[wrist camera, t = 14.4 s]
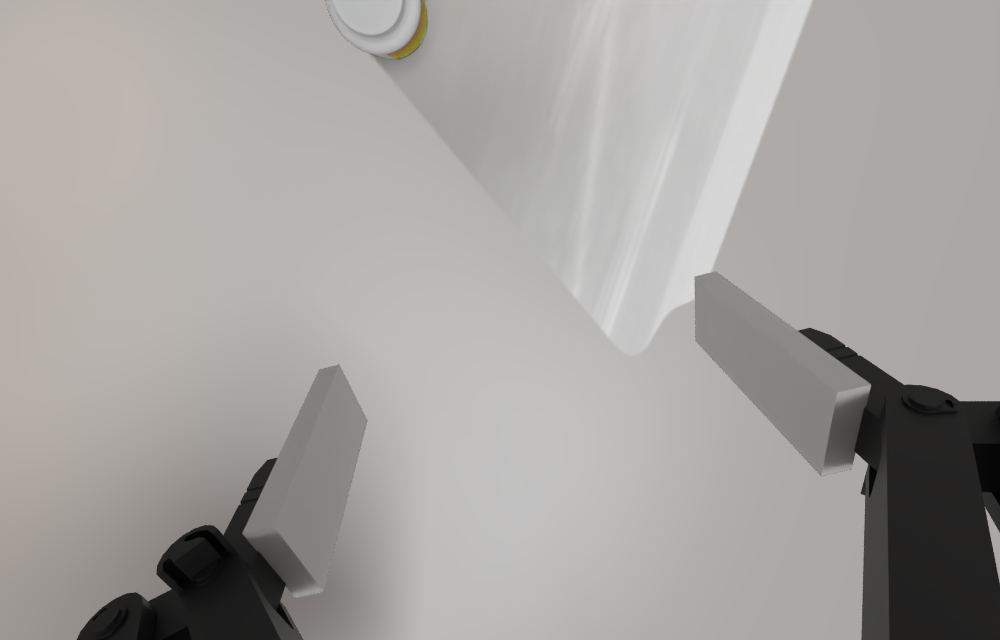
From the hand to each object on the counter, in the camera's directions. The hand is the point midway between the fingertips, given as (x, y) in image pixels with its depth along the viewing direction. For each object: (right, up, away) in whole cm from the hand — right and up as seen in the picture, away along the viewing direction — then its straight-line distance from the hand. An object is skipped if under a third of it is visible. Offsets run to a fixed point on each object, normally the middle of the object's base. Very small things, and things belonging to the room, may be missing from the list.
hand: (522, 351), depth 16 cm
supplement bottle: (-9, +24, +17) cm, 31 cm away
